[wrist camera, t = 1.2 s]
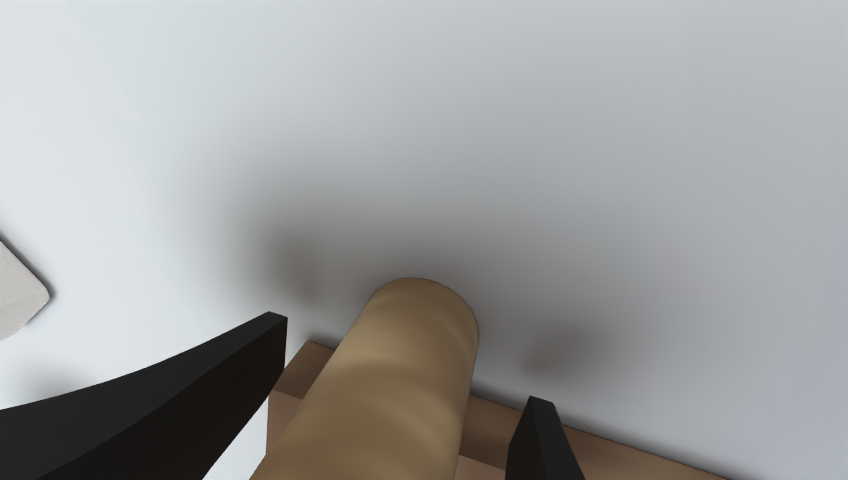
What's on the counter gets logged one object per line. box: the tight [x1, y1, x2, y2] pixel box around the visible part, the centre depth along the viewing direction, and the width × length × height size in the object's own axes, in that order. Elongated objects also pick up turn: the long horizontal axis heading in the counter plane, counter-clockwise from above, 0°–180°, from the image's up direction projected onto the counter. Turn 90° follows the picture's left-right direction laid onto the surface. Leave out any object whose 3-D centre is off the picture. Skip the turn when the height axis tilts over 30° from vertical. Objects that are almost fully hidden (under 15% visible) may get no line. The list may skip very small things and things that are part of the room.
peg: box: [249, 278, 479, 480], centre depth 10 cm, size 4×4×8 cm
